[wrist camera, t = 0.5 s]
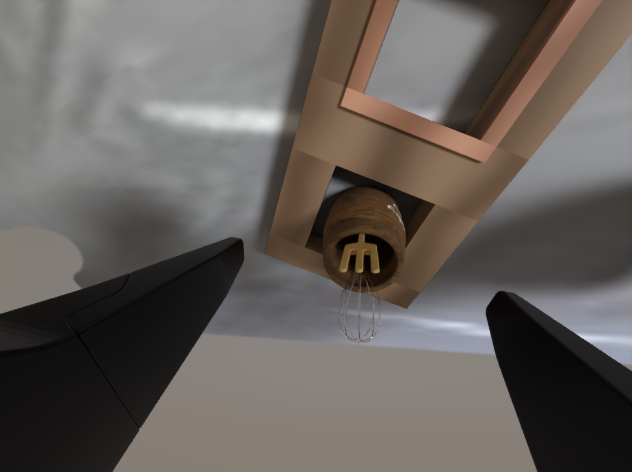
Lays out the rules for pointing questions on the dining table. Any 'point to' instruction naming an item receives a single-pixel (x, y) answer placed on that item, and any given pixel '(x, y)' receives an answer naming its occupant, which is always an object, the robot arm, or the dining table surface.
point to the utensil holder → (364, 244)
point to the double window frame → (432, 131)
